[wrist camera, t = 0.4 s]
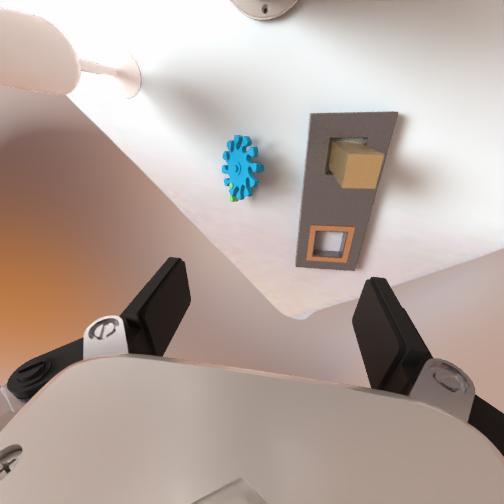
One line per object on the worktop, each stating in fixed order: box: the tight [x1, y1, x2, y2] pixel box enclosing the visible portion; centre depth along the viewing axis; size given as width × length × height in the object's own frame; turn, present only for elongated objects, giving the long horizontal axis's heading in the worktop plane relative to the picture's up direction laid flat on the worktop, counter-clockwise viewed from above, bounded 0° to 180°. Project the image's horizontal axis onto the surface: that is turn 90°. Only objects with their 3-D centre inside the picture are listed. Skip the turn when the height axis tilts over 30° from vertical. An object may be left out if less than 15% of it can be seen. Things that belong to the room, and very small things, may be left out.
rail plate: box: [295, 112, 398, 271], centre depth 41 cm, size 28×12×2 cm, turn 1°
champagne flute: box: [0, 7, 141, 99], centre depth 26 cm, size 7×7×24 cm
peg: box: [329, 142, 384, 189], centre depth 33 cm, size 4×4×12 cm
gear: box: [222, 135, 264, 202], centre depth 39 cm, size 11×6×10 cm
